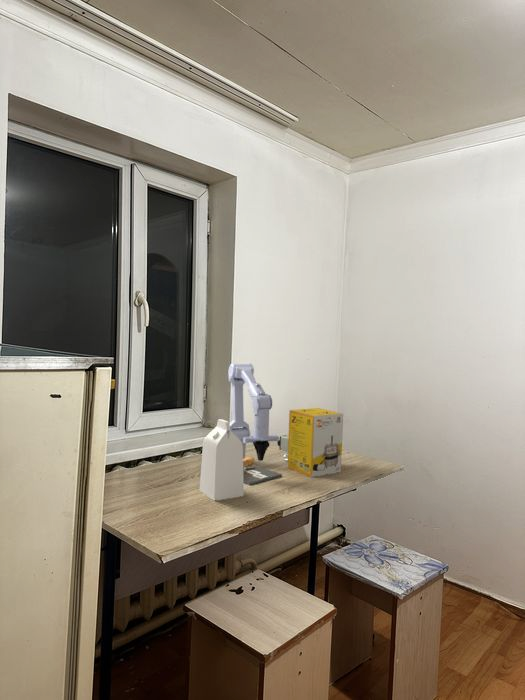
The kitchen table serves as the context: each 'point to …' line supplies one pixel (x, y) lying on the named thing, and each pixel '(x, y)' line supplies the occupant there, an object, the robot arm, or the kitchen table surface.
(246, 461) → the bar
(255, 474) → the label
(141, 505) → the kitchen table surface
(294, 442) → the packaging box
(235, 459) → the milk
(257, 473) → the label
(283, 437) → the pneumatic valve
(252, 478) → the panel
